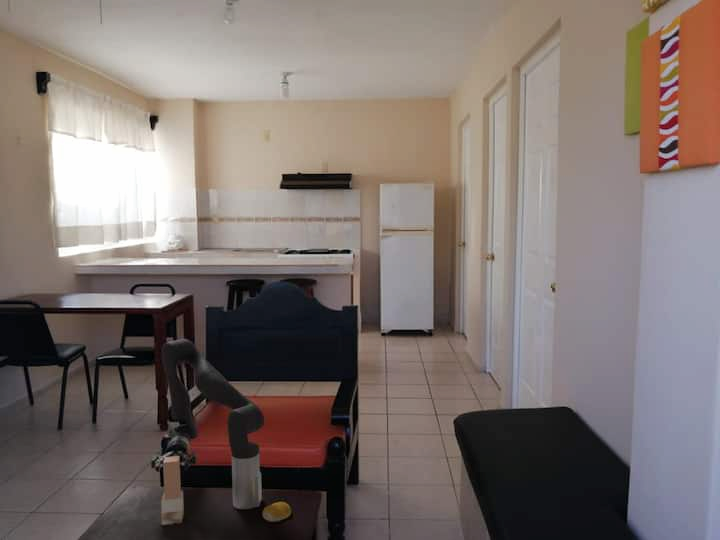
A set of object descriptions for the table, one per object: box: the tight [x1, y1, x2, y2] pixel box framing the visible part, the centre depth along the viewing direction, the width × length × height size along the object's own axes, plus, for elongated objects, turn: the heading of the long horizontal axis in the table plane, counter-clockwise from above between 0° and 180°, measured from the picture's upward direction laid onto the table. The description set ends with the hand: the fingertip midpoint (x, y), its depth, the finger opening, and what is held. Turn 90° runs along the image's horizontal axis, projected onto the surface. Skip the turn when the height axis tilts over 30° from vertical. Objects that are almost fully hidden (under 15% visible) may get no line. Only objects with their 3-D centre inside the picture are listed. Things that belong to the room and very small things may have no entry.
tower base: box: [160, 502, 185, 526], centre depth 182 cm, size 6×6×4 cm
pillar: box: [162, 456, 182, 499], centre depth 181 cm, size 4×4×12 cm
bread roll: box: [262, 501, 292, 523], centre depth 184 cm, size 8×9×4 cm
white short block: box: [160, 490, 184, 513], centre depth 182 cm, size 6×6×4 cm
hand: (171, 468), depth 183 cm, fingers open, 8 cm apart
